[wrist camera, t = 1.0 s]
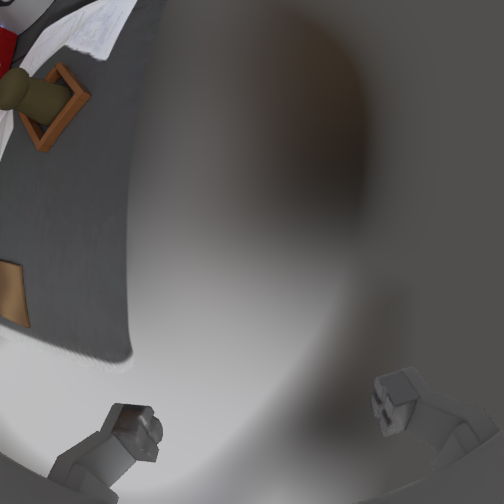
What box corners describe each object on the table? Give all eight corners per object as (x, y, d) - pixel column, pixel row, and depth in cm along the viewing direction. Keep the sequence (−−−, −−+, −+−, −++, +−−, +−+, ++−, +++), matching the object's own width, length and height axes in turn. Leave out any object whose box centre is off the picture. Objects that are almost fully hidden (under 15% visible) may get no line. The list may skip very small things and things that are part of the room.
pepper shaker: (35, 120, 25) (-18, 104, 15) (56, 82, 24) (7, 58, 14) (55, 132, 26) (-3, 116, 15) (78, 92, 25) (25, 63, 14)
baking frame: (27, 116, 25) (18, 113, 23) (66, 65, 24) (58, 60, 22) (47, 152, 26) (37, 151, 24) (91, 96, 25) (83, 91, 23)
